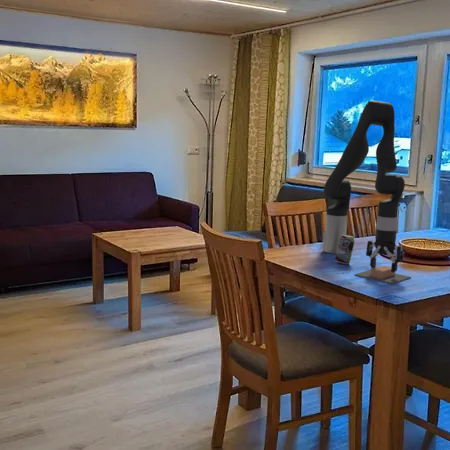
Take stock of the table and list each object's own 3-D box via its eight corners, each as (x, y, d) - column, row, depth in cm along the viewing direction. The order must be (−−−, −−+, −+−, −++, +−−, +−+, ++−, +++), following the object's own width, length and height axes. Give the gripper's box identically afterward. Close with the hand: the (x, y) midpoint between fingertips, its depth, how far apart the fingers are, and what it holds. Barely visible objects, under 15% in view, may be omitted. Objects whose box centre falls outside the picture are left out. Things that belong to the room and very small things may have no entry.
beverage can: (332, 262, 241) (334, 234, 239) (347, 261, 244) (349, 233, 242) (340, 265, 235) (342, 236, 233) (355, 264, 238) (357, 236, 236)
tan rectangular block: (383, 272, 224) (383, 265, 224) (394, 275, 221) (395, 268, 220) (370, 276, 218) (370, 268, 218) (381, 278, 215) (382, 271, 214)
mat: (354, 275, 220) (354, 274, 220) (373, 269, 230) (373, 268, 230) (392, 284, 209) (392, 283, 209) (410, 278, 219) (410, 276, 219)
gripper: (408, 229, 214) (405, 272, 217) (374, 224, 224) (371, 264, 227) (398, 232, 209) (395, 275, 211) (364, 226, 218) (361, 267, 221)
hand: (383, 269), depth 219 cm, fingers open, 8 cm apart
